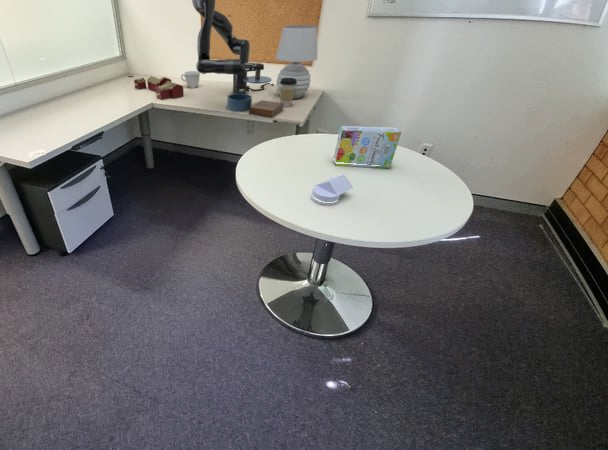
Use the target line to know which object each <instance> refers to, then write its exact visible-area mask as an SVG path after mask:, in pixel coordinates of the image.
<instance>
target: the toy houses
mask: <svg viewBox="0 0 608 450" xmlns="http://www.w3.org/2000/svg"><path fill="white" fill-rule="evenodd" d="M133 82H134V83H133V85H134V88H135V89H136V90H139V91H140V90H146V89H148V90H149V91H151V92H154V95H155V97H156V99H157V100H160V101H163V100H164V101H165V100H168V99H173V100H174V99H178V98H184V96H185V95H184V94H185V93H184V88H185V86H184V85H181V84H179V83H176V82H174V81H173V82H172V79H170V78H168V77H164V76H162V77H161V78H158V77H155V76H150V77H148V78H147V79H145V78H144V77H140V78H136V79H134V80H133Z"/></svg>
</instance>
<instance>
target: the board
mask: <svg viewBox="0 0 608 450" xmlns="http://www.w3.org/2000/svg"><path fill="white" fill-rule="evenodd" d="M283 110H284V107H283V103H281V102H278V101H270V100H262V99H261V100H260V101H258V102H256V103H254V104H253V105H251V107H250V110H249V115H251V116H259V117H263V118H268V119H269V118H270V119H272V118H274V117H275V116H277V115H278V114H281V112H282V111H283Z"/></svg>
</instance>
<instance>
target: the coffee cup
mask: <svg viewBox="0 0 608 450" xmlns="http://www.w3.org/2000/svg"><path fill="white" fill-rule="evenodd" d="M280 83H281V88H280V93H279V94H280V95H279V96H280V99H279V100H280V103H283V108H289V107H292V104H293V103H292V102H293V100H294V99H293V96H294V91H295V86H296V84H297V81H296V79H294V78H283V79H281V81H280Z"/></svg>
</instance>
